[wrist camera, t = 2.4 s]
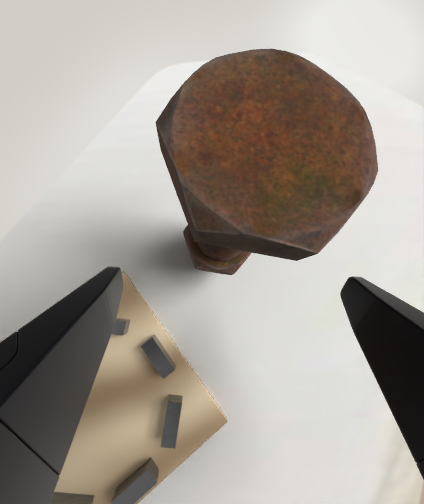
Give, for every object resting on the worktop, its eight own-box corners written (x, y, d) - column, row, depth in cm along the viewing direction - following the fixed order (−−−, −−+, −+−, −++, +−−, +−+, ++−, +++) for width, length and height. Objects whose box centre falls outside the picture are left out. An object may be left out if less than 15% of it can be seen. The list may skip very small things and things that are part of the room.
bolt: (251, 273, 20) (420, 215, 5) (197, 293, 19) (220, 291, 5) (227, 213, 21) (318, 19, 6) (174, 230, 20) (132, 56, 5)
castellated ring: (214, 420, 17) (216, 429, 16) (59, 559, 15) (47, 582, 14) (119, 283, 18) (114, 282, 17) (-39, 392, 16) (-57, 400, 15)
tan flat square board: (226, 417, 18) (227, 421, 17) (60, 567, 15) (54, 578, 15) (124, 271, 19) (122, 271, 18) (-46, 387, 16) (-54, 390, 16)
